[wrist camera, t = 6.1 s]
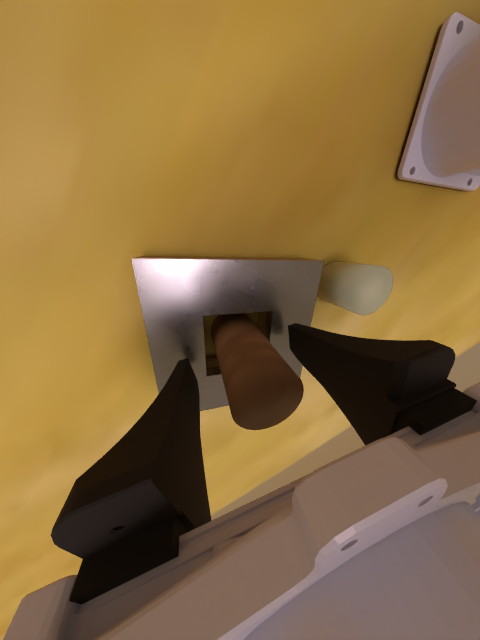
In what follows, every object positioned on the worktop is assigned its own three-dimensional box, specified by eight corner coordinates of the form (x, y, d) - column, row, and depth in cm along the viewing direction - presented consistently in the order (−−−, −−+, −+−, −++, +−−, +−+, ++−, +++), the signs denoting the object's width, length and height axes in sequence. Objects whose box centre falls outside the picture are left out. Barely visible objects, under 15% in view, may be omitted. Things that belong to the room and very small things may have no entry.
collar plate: (302, 258, 14) (323, 260, 12) (284, 374, 19) (297, 391, 17) (142, 256, 11) (131, 258, 9) (167, 394, 16) (164, 418, 14)
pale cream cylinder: (352, 261, 16) (400, 266, 12) (342, 299, 17) (382, 313, 14) (319, 261, 15) (360, 266, 11) (311, 301, 16) (345, 316, 13)
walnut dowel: (248, 304, 15) (303, 360, 8) (253, 340, 16) (303, 414, 9) (206, 315, 14) (223, 386, 7) (215, 351, 16) (238, 439, 8)
